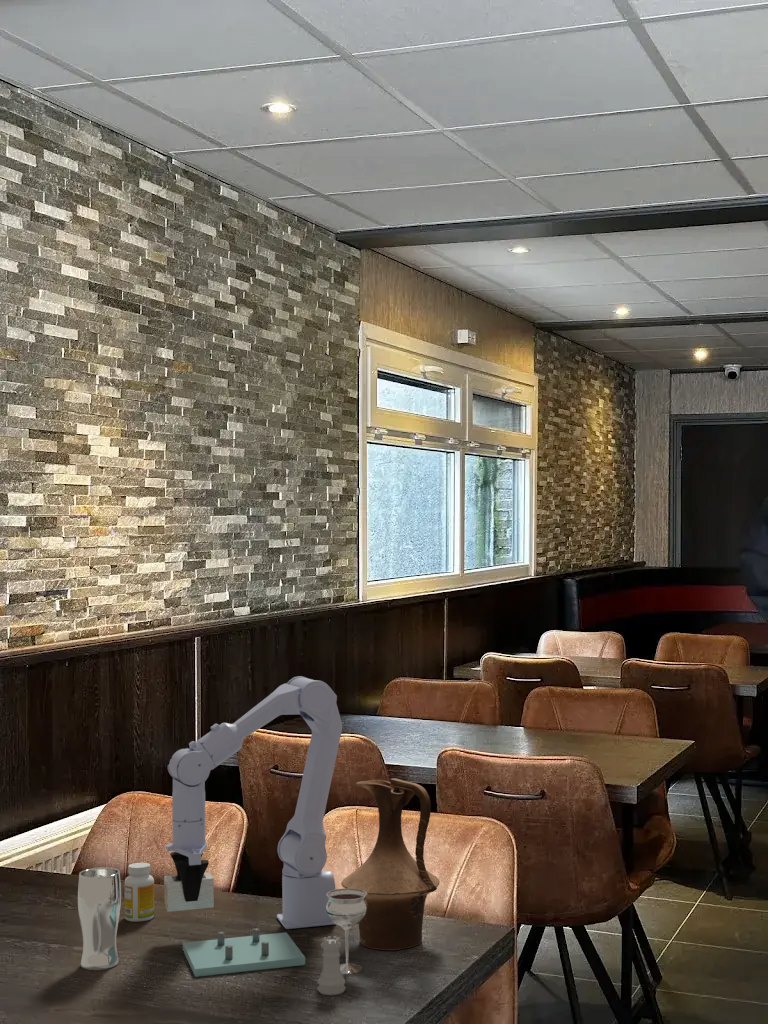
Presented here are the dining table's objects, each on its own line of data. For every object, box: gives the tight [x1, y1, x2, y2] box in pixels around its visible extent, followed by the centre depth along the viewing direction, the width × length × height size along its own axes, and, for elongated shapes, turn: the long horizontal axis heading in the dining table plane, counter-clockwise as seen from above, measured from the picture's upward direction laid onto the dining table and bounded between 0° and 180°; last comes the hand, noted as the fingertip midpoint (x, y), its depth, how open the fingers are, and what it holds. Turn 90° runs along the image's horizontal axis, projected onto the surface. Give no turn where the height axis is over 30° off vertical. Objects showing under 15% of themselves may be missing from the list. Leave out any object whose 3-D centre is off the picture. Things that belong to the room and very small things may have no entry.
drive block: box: [163, 871, 215, 913], centre depth 219 cm, size 8×4×5 cm, turn 107°
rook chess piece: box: [316, 935, 347, 997], centre depth 193 cm, size 4×4×8 cm
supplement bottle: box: [124, 862, 155, 923], centre depth 232 cm, size 5×5×10 cm
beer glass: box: [77, 866, 122, 971], centre depth 206 cm, size 7×7×15 cm
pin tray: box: [182, 927, 306, 978], centre depth 209 cm, size 18×14×3 cm
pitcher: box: [340, 777, 440, 951], centre depth 217 cm, size 18×17×28 cm
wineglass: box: [326, 888, 368, 975], centre depth 203 cm, size 7×7×12 cm
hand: (189, 897), depth 219 cm, fingers closed on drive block, 4 cm apart
